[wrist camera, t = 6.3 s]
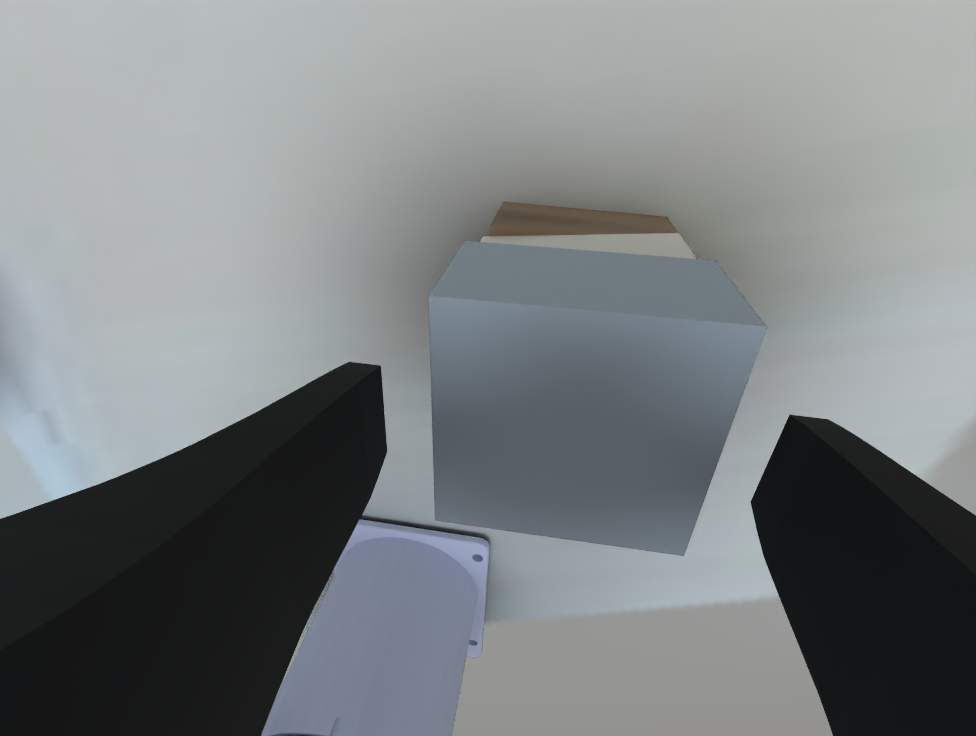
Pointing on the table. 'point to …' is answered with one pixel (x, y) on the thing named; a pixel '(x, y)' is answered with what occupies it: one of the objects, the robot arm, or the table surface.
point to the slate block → (584, 391)
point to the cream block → (606, 243)
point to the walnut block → (572, 221)
